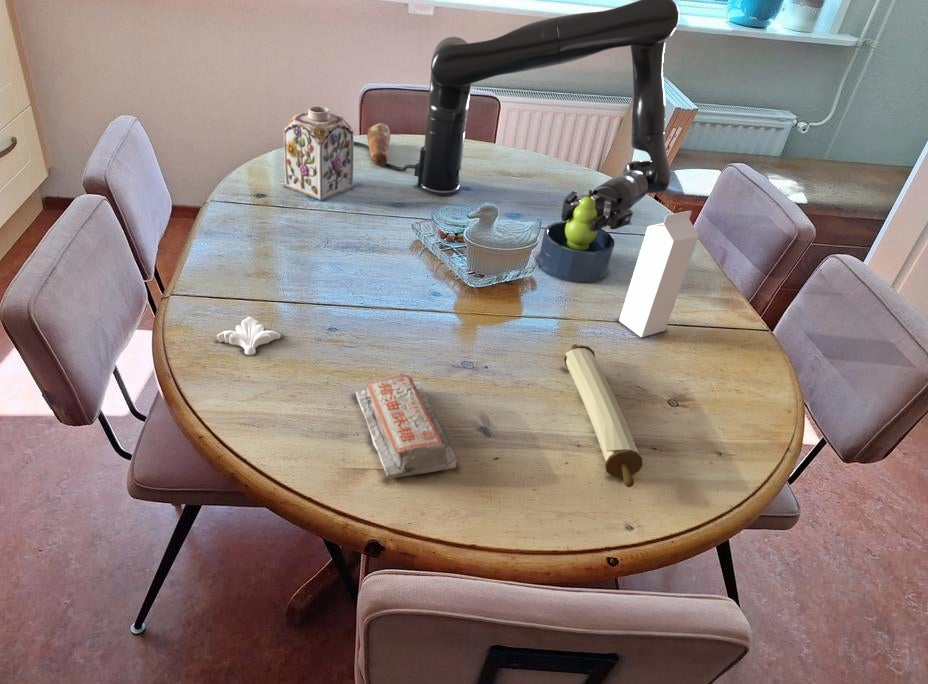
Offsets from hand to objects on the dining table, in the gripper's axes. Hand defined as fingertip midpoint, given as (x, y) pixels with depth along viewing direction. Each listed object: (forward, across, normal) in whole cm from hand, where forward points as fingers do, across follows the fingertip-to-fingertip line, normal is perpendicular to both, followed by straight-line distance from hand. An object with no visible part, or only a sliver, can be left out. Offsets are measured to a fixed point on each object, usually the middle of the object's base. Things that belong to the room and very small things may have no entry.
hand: (578, 221), depth 136 cm
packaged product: (+62, +6, +10) cm, 63 cm away
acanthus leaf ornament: (+61, -26, +10) cm, 67 cm away
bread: (-20, -66, +11) cm, 70 cm away
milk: (+9, +20, +11) cm, 25 cm away
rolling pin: (+40, +26, +10) cm, 48 cm away
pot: (-2, 0, +11) cm, 11 cm away
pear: (-2, 0, +6) cm, 6 cm away
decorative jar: (+8, -62, +10) cm, 64 cm away
